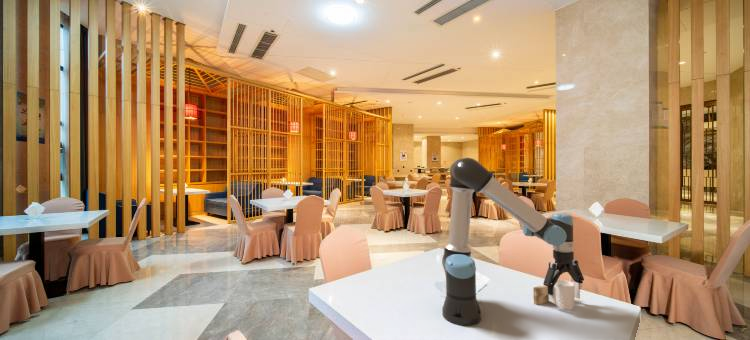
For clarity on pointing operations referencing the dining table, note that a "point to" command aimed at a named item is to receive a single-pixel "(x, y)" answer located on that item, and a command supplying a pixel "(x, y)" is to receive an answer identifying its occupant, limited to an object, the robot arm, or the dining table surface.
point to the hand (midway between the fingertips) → (564, 299)
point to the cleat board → (541, 294)
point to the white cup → (565, 294)
